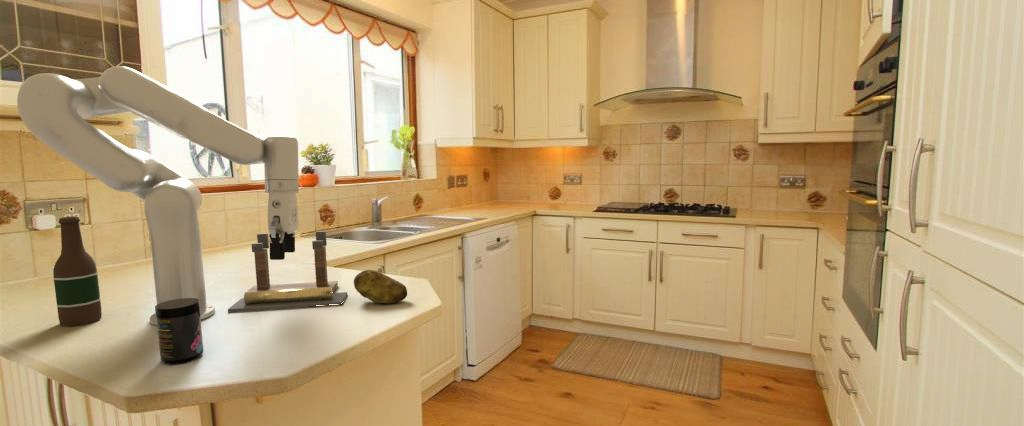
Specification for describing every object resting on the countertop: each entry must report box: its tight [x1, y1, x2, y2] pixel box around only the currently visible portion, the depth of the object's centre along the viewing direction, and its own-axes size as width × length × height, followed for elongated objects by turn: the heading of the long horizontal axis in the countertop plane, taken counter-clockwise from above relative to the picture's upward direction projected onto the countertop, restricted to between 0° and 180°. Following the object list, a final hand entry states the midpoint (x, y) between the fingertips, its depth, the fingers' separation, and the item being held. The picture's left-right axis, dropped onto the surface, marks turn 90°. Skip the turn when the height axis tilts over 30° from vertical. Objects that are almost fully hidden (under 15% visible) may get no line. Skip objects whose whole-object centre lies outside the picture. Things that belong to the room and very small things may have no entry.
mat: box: [227, 291, 348, 313], centre depth 125 cm, size 9×26×1 cm, turn 100°
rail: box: [243, 287, 332, 304], centre depth 124 cm, size 3×20×3 cm
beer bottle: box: [52, 216, 103, 327], centre depth 112 cm, size 8×8×24 cm
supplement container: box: [154, 298, 204, 365], centre depth 91 cm, size 7×7×10 cm
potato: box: [353, 269, 408, 304], centre depth 124 cm, size 8×13×8 cm, turn 64°
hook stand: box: [246, 230, 339, 293], centre depth 134 cm, size 7×22×16 cm, turn 100°
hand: (282, 255), depth 123 cm, fingers open, 9 cm apart
